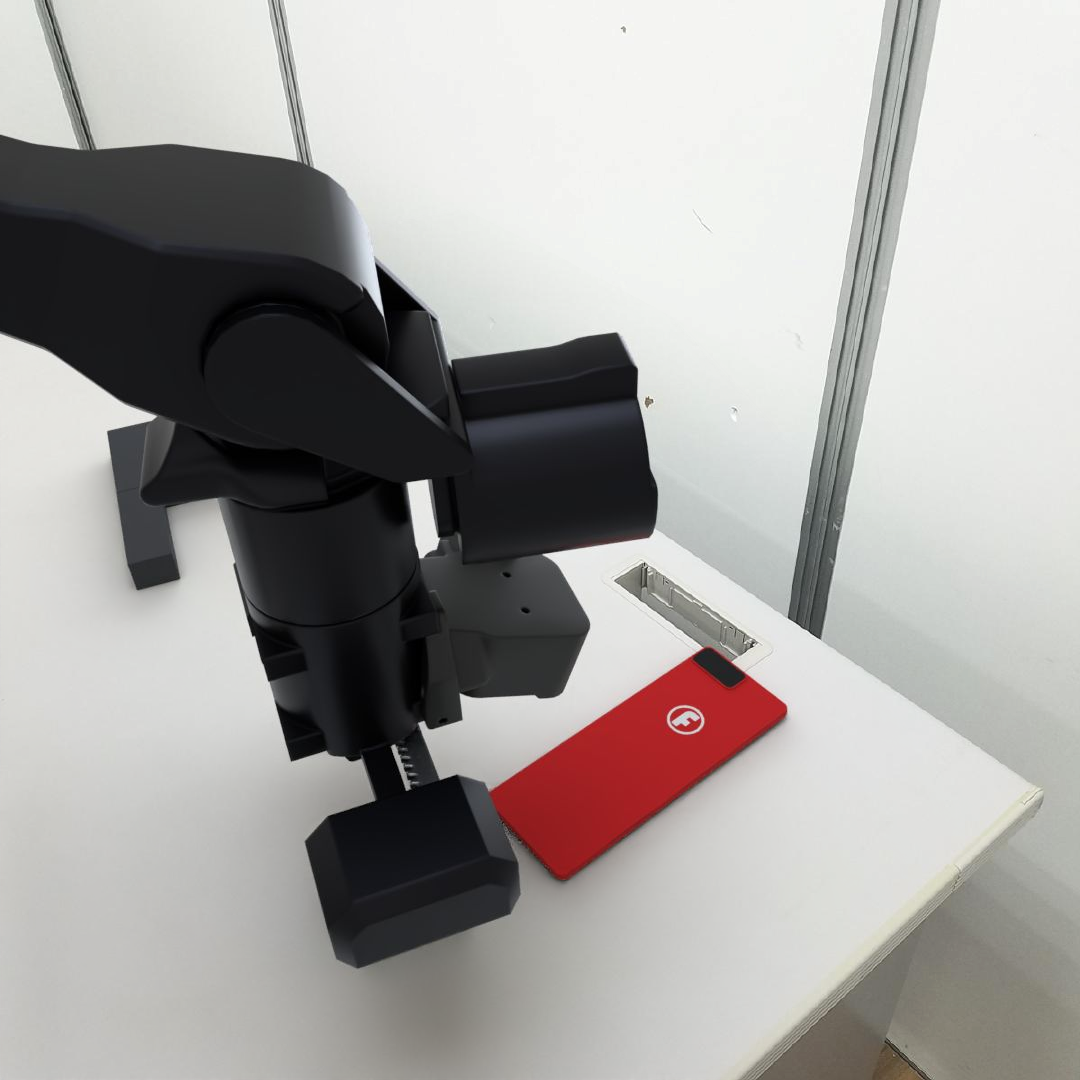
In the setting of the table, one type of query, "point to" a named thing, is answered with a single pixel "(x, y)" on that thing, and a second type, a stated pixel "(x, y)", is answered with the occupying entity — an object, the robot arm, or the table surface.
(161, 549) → the dark gray pronged block
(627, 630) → the table surface
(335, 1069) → the table surface
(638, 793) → the electronic device
